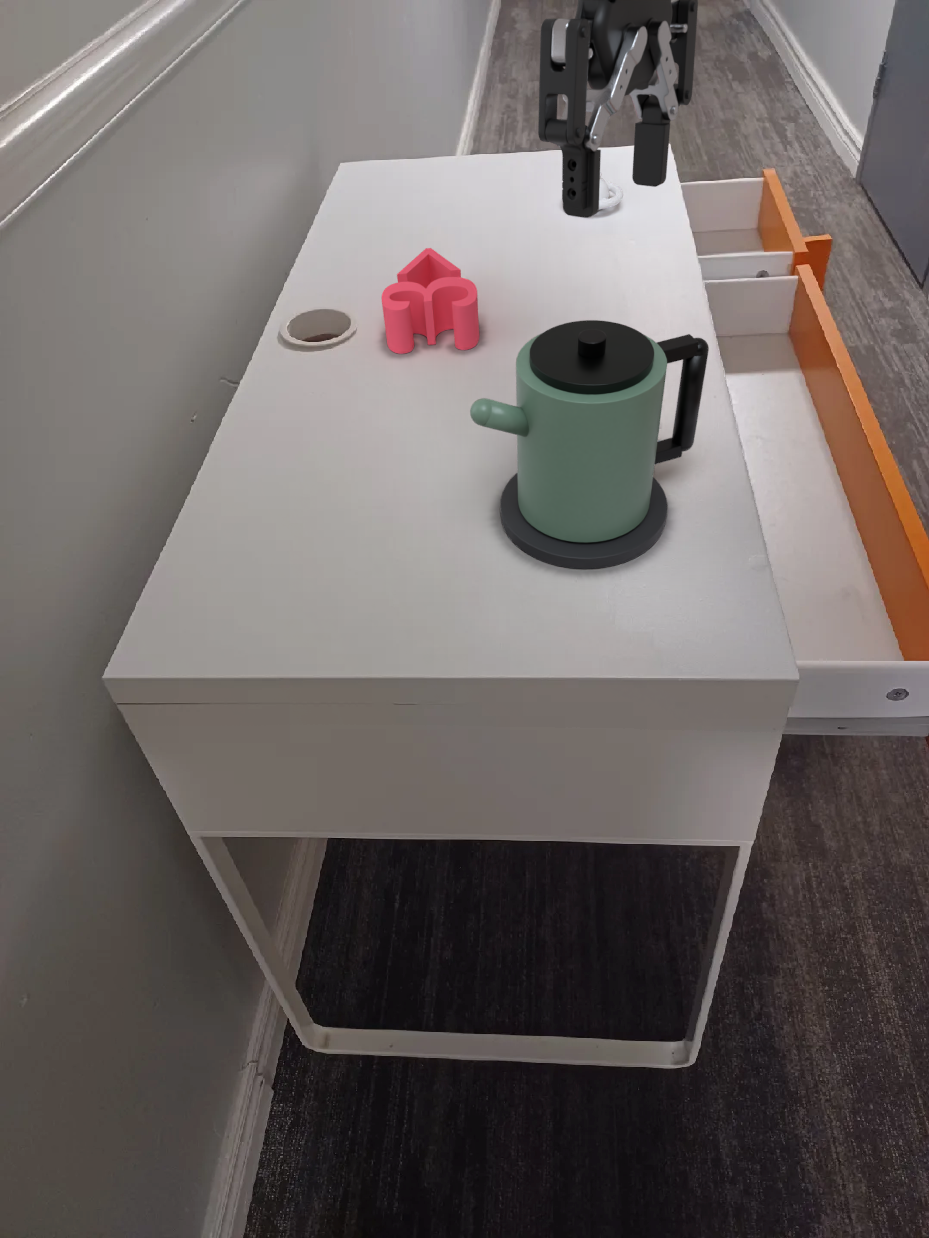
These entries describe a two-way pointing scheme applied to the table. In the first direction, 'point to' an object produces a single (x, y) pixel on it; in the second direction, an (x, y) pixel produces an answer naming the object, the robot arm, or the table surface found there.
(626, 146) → the table surface
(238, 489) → the table surface
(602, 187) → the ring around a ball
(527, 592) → the table surface
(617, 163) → the table surface
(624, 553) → the kettle base
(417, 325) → the pink curled block
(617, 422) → the kettle
